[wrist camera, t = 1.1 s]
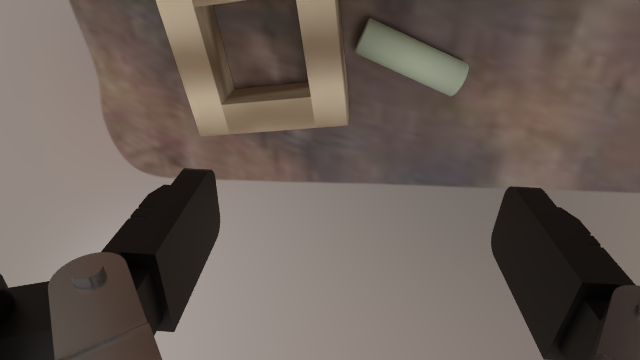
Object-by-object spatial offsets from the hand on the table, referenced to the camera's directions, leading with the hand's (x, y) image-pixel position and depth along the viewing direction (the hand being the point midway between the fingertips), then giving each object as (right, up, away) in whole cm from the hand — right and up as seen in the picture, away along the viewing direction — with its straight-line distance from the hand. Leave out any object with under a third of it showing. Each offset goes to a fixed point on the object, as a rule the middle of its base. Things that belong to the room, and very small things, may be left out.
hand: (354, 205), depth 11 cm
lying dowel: (+6, +11, +19) cm, 22 cm away
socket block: (-5, +12, +20) cm, 23 cm away
